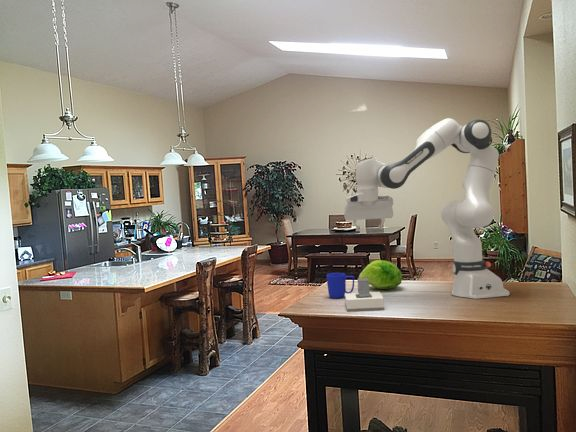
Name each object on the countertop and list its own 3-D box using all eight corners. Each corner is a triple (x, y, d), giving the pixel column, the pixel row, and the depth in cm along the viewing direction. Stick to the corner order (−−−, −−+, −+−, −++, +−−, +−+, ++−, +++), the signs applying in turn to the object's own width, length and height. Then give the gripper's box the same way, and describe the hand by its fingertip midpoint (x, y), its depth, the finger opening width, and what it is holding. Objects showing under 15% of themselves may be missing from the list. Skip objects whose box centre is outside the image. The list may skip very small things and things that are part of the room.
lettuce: (366, 284, 244) (365, 256, 243) (407, 286, 234) (406, 257, 233) (354, 291, 230) (353, 261, 229) (397, 293, 220) (396, 262, 220)
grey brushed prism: (368, 302, 202) (367, 278, 201) (370, 305, 197) (368, 280, 196) (358, 303, 202) (357, 278, 202) (359, 306, 197) (358, 280, 197)
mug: (354, 299, 215) (353, 275, 214) (326, 299, 217) (325, 276, 217) (355, 294, 223) (354, 272, 222) (328, 295, 225) (327, 273, 225)
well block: (380, 302, 205) (379, 291, 205) (384, 309, 193) (383, 298, 193) (345, 304, 206) (344, 293, 206) (347, 311, 194) (346, 300, 194)
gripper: (391, 195, 214) (393, 228, 214) (343, 198, 215) (344, 230, 216) (393, 195, 207) (395, 229, 208) (343, 198, 209) (345, 231, 209)
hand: (369, 230), depth 212 cm, fingers open, 8 cm apart
